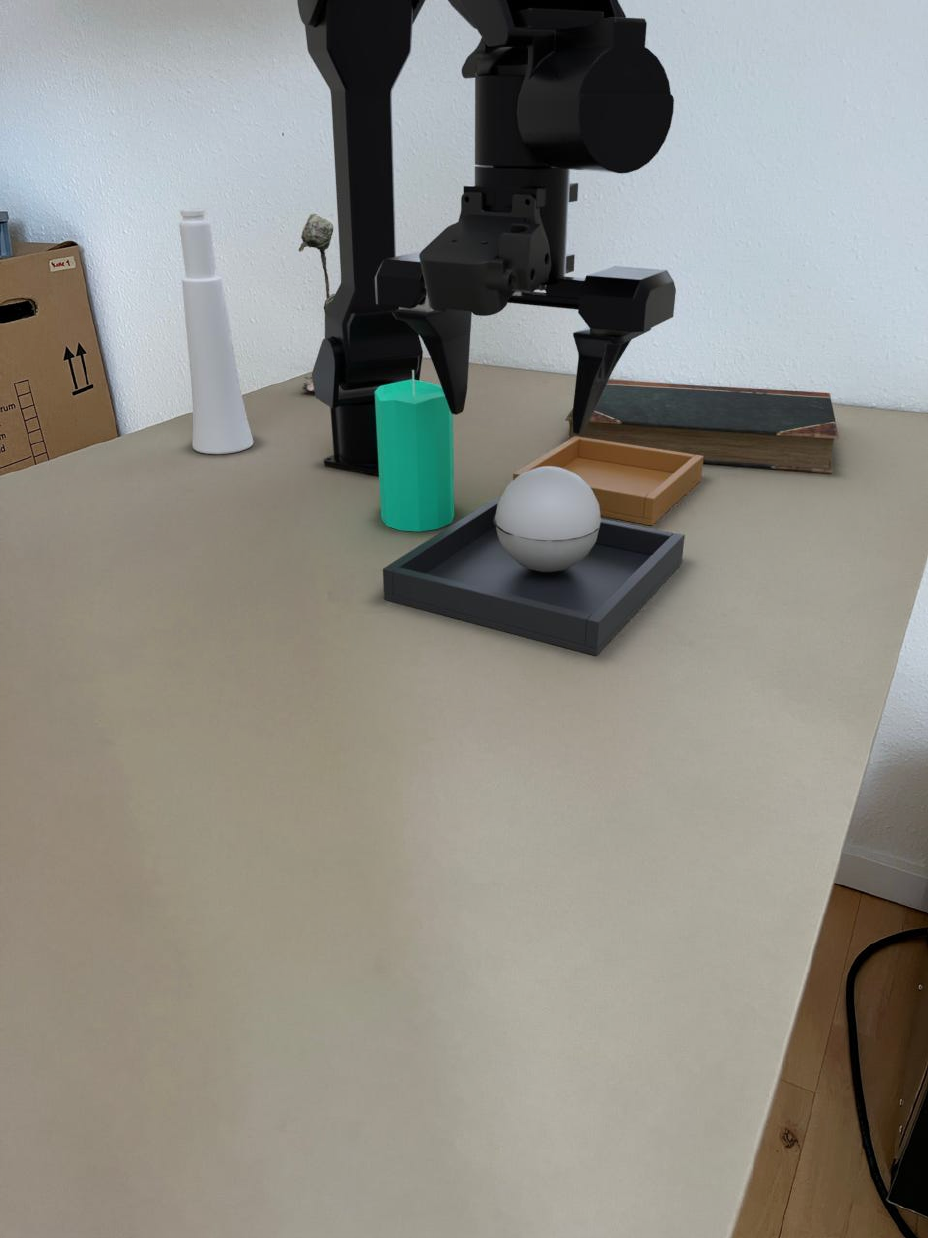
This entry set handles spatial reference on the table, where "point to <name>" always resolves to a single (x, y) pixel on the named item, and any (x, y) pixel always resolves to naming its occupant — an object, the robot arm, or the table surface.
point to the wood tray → (626, 476)
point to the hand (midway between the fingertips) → (516, 422)
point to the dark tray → (535, 581)
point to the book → (719, 423)
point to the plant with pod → (320, 237)
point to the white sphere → (547, 519)
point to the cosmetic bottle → (210, 346)
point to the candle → (415, 455)
